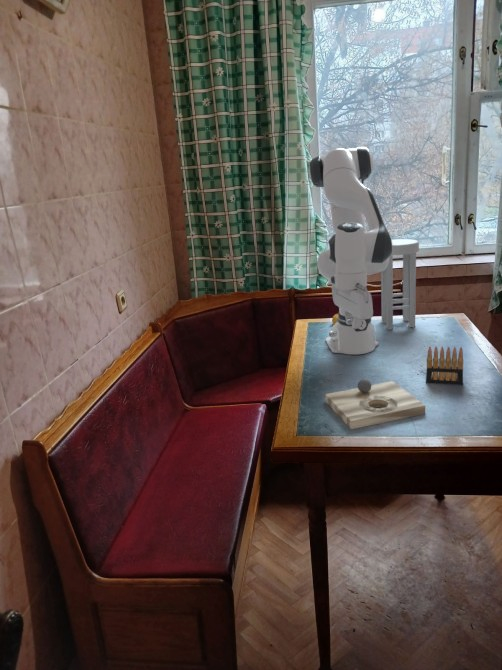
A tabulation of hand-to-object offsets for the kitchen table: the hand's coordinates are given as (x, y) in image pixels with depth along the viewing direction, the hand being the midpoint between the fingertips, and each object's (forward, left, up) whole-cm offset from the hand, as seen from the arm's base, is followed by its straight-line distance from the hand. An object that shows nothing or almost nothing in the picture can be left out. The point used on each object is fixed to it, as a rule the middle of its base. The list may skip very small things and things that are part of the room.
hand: (352, 326), depth 147 cm
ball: (+7, 0, -17) cm, 18 cm away
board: (+13, 0, -21) cm, 25 cm away
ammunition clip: (+7, +27, -21) cm, 35 cm away
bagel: (-62, +24, -22) cm, 70 cm away
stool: (-51, +44, -21) cm, 71 cm away
